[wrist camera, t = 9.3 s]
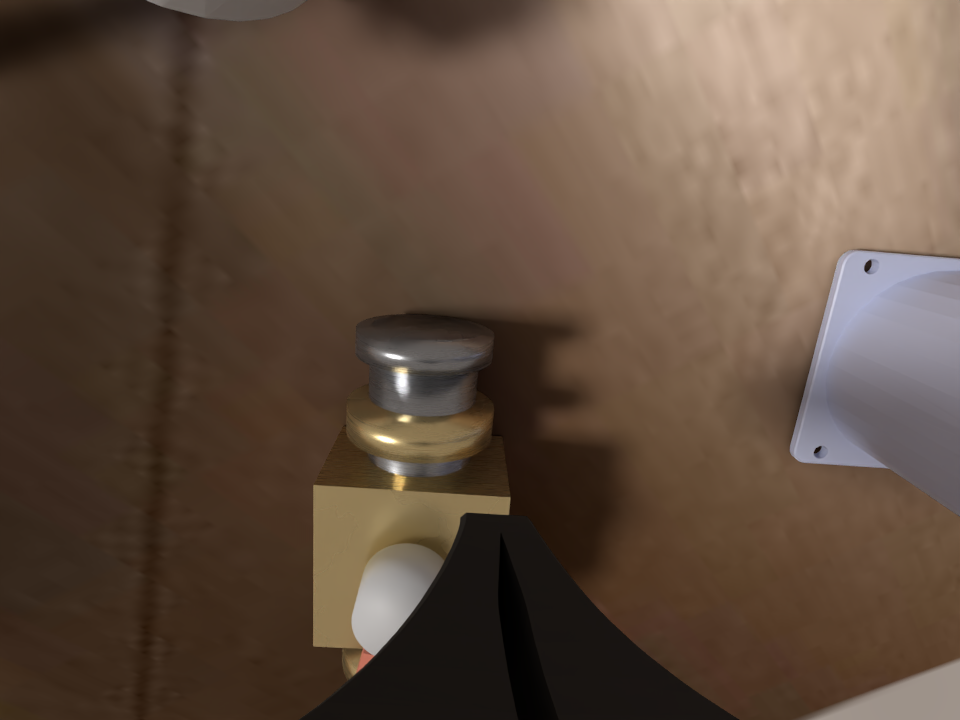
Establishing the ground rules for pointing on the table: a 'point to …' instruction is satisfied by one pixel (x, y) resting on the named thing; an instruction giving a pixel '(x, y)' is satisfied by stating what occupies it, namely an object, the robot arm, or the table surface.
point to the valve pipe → (403, 460)
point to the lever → (391, 593)
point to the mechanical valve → (231, 8)
